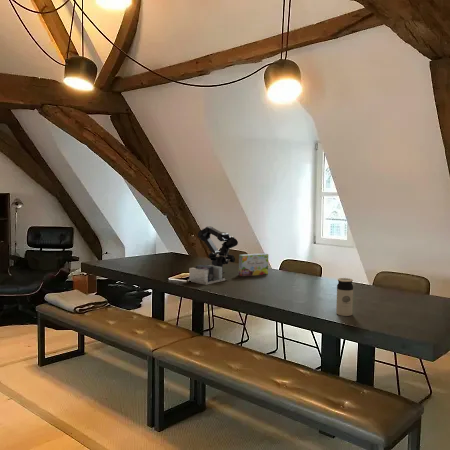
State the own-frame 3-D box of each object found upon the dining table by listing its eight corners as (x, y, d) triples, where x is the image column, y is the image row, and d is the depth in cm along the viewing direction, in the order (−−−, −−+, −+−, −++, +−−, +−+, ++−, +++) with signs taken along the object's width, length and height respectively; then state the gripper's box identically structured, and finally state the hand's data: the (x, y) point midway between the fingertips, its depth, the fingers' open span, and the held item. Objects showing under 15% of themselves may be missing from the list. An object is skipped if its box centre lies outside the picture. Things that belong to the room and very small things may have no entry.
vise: (207, 277, 348) (207, 264, 347) (225, 280, 337) (225, 267, 336) (187, 281, 334) (187, 267, 333) (206, 284, 323) (206, 271, 322)
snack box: (241, 276, 351) (242, 255, 350) (238, 275, 356) (238, 254, 355) (268, 274, 360) (268, 253, 358) (264, 273, 365) (264, 252, 363)
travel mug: (336, 311, 259) (337, 277, 257) (352, 312, 257) (353, 278, 255) (335, 315, 251) (336, 280, 250) (352, 316, 249) (353, 281, 248)
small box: (195, 281, 334) (195, 265, 333) (200, 279, 340) (200, 264, 339) (208, 283, 329) (208, 267, 328) (213, 281, 334) (213, 265, 333)
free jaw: (208, 277, 346) (208, 264, 345) (222, 279, 338) (222, 267, 337) (204, 278, 344) (204, 265, 343) (218, 280, 335) (218, 267, 334)
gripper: (240, 257, 355) (233, 275, 346) (216, 255, 363) (209, 272, 354) (235, 247, 347) (228, 265, 338) (211, 245, 355) (204, 263, 347)
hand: (217, 267), depth 345 cm, fingers closed
